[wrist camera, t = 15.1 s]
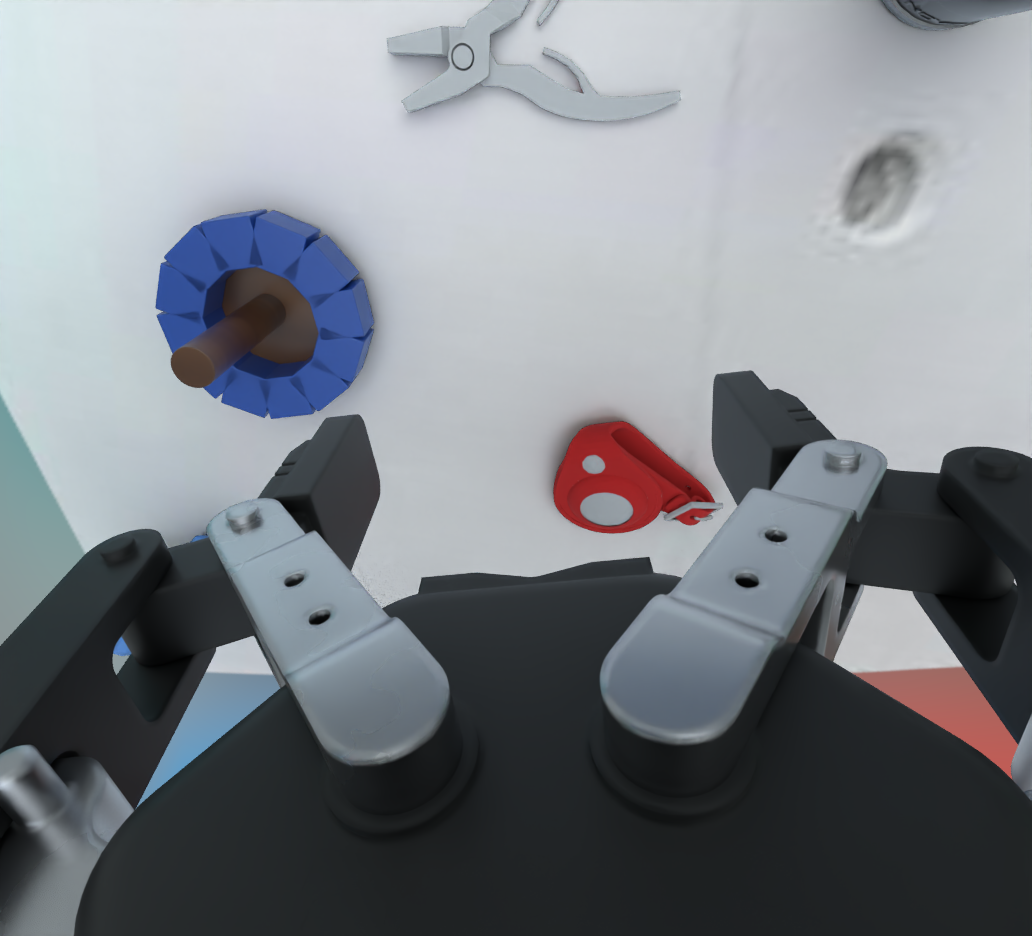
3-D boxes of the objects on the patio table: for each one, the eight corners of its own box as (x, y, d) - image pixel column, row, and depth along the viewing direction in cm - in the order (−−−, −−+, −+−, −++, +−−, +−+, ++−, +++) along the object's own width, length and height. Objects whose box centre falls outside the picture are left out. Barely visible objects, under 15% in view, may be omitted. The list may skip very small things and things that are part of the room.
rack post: (223, 223, 39) (117, 260, 29) (347, 273, 40) (287, 326, 30) (204, 337, 42) (104, 406, 32) (318, 380, 44) (256, 458, 34)
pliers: (684, 105, 34) (422, 175, 36) (678, 105, 35) (426, 173, 37) (663, -133, 29) (362, -37, 31) (656, -122, 30) (369, -30, 32)
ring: (193, 176, 36) (169, 180, 34) (395, 260, 39) (386, 270, 36) (168, 361, 42) (146, 376, 40) (344, 425, 44) (334, 443, 42)
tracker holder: (567, 550, 49) (529, 465, 43) (573, 508, 52) (538, 422, 46) (727, 541, 45) (712, 444, 39) (723, 495, 48) (709, 398, 42)
